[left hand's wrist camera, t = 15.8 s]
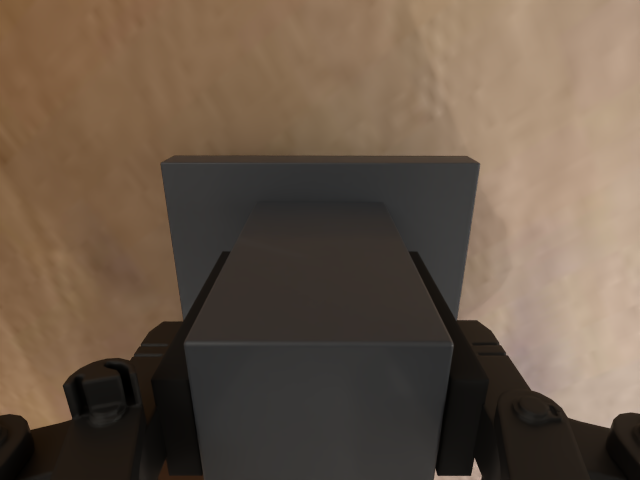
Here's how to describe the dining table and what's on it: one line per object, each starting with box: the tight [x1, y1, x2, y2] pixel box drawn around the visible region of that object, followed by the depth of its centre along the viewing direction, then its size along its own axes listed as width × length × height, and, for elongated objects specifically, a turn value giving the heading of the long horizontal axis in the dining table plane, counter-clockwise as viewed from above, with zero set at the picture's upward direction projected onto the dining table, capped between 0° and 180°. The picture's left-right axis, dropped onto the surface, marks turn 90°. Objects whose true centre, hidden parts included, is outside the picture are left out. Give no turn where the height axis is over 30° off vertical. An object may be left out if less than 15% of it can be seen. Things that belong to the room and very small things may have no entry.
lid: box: [161, 156, 480, 480], centre depth 15 cm, size 14×12×12 cm
